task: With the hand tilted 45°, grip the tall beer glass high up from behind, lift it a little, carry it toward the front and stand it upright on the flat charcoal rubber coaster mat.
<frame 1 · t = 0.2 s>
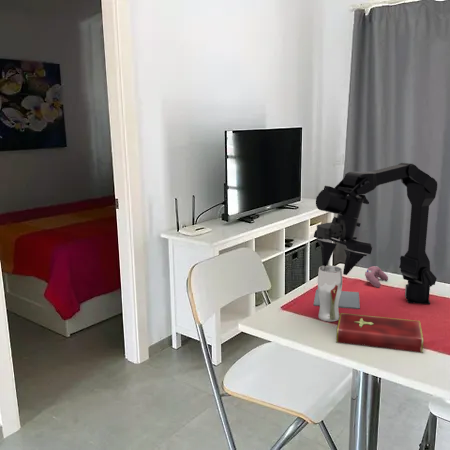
hand: (334, 270, 137), 15 cm above the table, tool tilted 15°, fingers open, 9 cm apart
video game controller: (375, 283, 172), on the table
hardcover book: (378, 339, 130), on the table
coaster: (336, 299, 157), on the table
beer glass: (328, 318, 143), on the table
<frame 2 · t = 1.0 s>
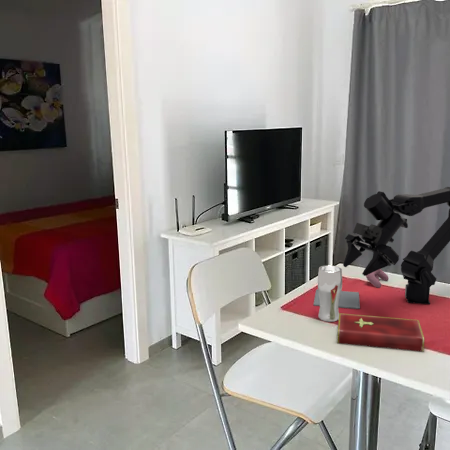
hand: (353, 270, 143), 13 cm above the table, tool tilted 45°, fingers open, 9 cm apart
nothing on the table moved.
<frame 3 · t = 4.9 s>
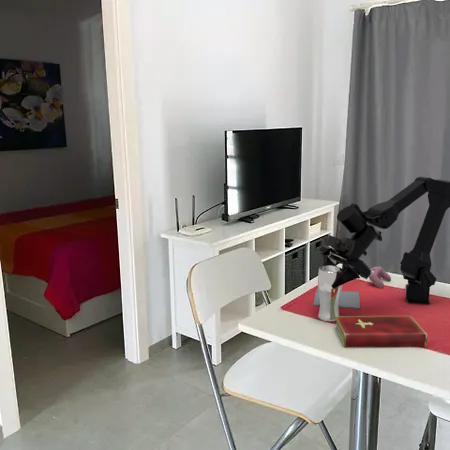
hand: (325, 283, 140), 11 cm above the table, tool tilted 45°, fingers closed on beer glass, 6 cm apart
beer glass: (328, 318, 143), on the table, touching gripper
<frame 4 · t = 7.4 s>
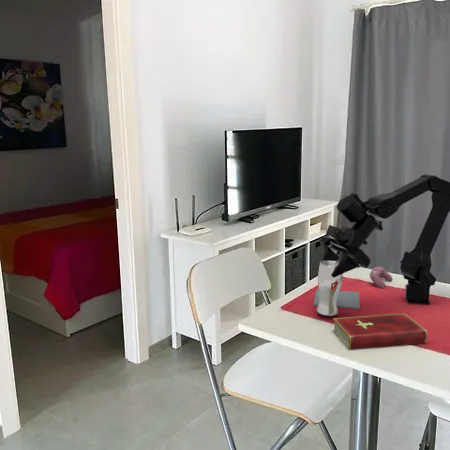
hand: (326, 273, 141), 13 cm above the table, tool tilted 45°, fingers closed on beer glass, 6 cm apart
beer glass: (327, 312, 144), point 1 cm above the table, touching gripper
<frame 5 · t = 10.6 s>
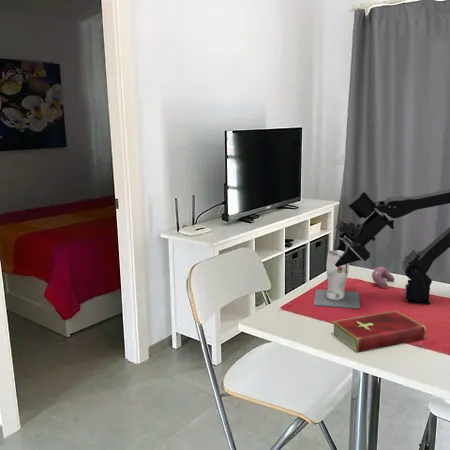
hand: (333, 263, 154), 12 cm above the table, tool tilted 45°, fingers closed on beer glass, 6 cm apart
beer glass: (335, 298, 157), resting on coaster, touching gripper
when the fingers open (12 cm above the table, at t = 11.3 s): beer glass stays where it is, resting on coaster.
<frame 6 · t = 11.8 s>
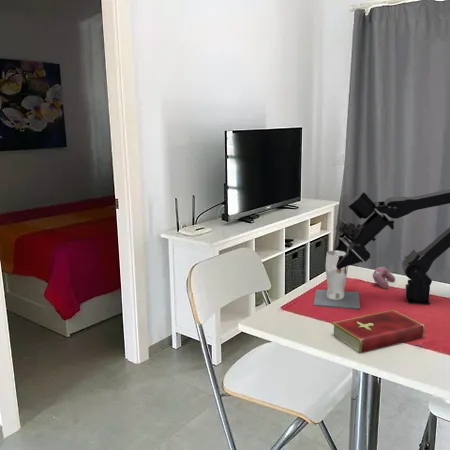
hand: (333, 263, 154), 12 cm above the table, tool tilted 45°, fingers open, 9 cm apart
beer glass: (335, 298, 157), resting on coaster
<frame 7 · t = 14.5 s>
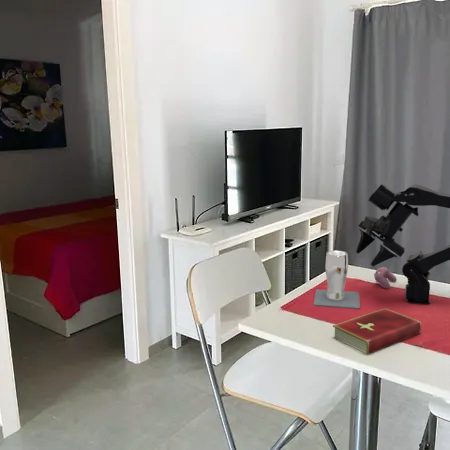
hand: (364, 259, 155), 13 cm above the table, tool tilted 35°, fingers open, 9 cm apart
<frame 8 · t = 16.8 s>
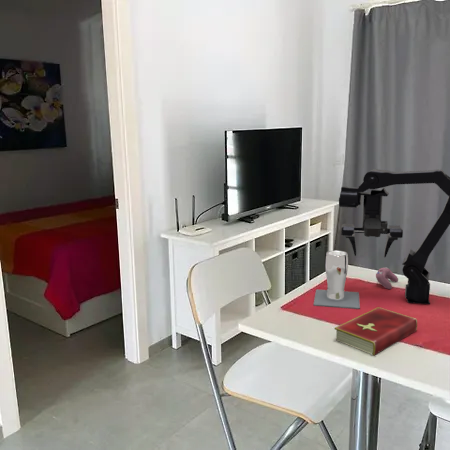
hand: (369, 256, 158), 13 cm above the table, tool pointing down, fingers open, 9 cm apart
at the end: beer glass inside the target area on the coaster (0.4 cm from its centre), point 0.2 cm above the coaster's base; beer glass tilted 0°; the gripper is holding nothing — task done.
